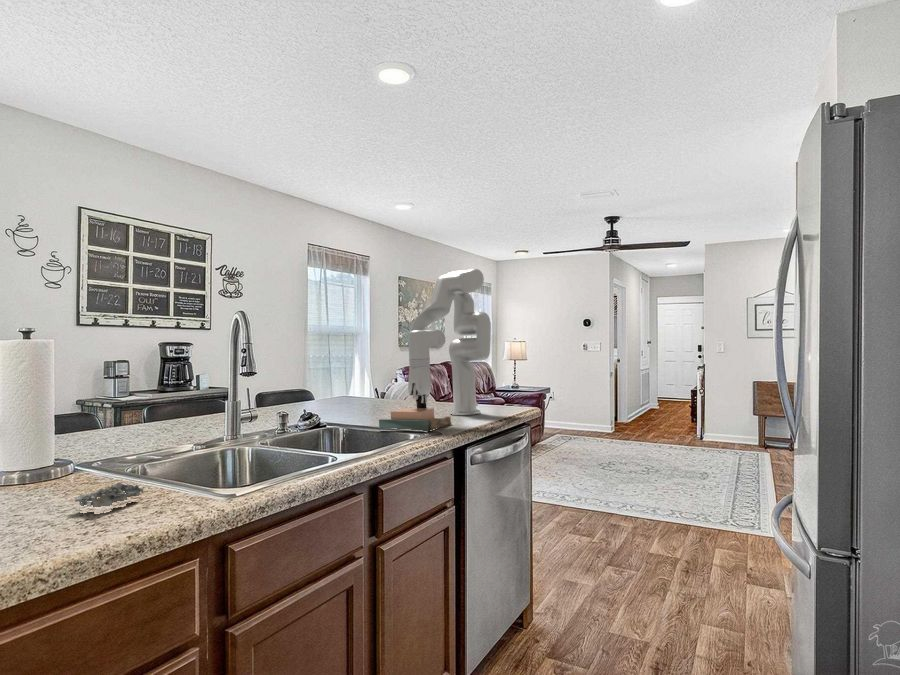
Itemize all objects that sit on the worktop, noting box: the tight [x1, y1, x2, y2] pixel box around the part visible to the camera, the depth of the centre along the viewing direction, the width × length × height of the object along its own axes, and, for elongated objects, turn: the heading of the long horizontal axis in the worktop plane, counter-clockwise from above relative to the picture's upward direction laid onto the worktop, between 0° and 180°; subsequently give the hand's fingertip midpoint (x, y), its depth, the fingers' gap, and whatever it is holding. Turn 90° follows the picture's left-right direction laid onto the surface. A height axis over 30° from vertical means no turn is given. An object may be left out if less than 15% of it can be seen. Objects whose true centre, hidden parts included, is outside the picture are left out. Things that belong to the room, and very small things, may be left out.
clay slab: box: [390, 407, 435, 421], centre depth 193 cm, size 10×12×4 cm
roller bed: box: [378, 415, 452, 431], centre depth 195 cm, size 19×19×4 cm
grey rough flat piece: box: [74, 482, 146, 507], centre depth 107 cm, size 11×8×4 cm
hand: (421, 413), depth 199 cm, fingers closed
